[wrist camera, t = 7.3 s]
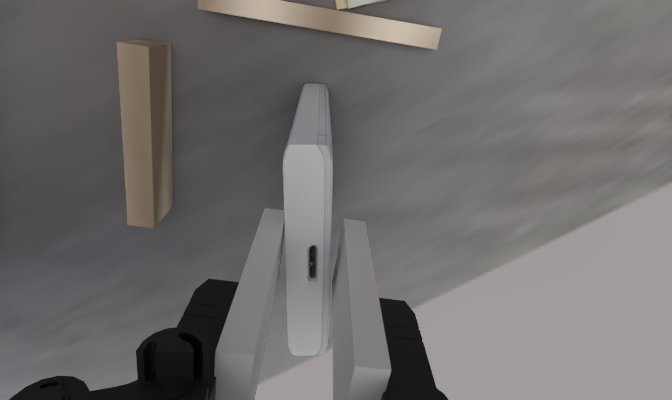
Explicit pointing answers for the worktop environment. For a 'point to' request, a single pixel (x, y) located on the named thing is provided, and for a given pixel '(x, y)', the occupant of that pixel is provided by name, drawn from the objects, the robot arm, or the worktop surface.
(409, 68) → the worktop surface
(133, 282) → the worktop surface
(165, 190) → the birch rack
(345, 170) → the worktop surface
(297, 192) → the hard drive
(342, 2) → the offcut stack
